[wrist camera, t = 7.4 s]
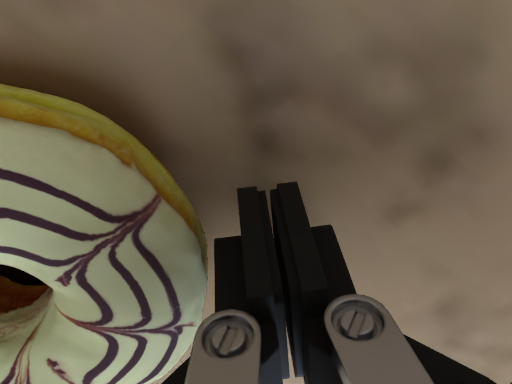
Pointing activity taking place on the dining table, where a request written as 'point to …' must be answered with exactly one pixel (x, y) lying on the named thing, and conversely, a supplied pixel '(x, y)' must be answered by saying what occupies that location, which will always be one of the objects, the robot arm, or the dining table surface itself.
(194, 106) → the dining table surface
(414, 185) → the dining table surface
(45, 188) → the decorated donut
